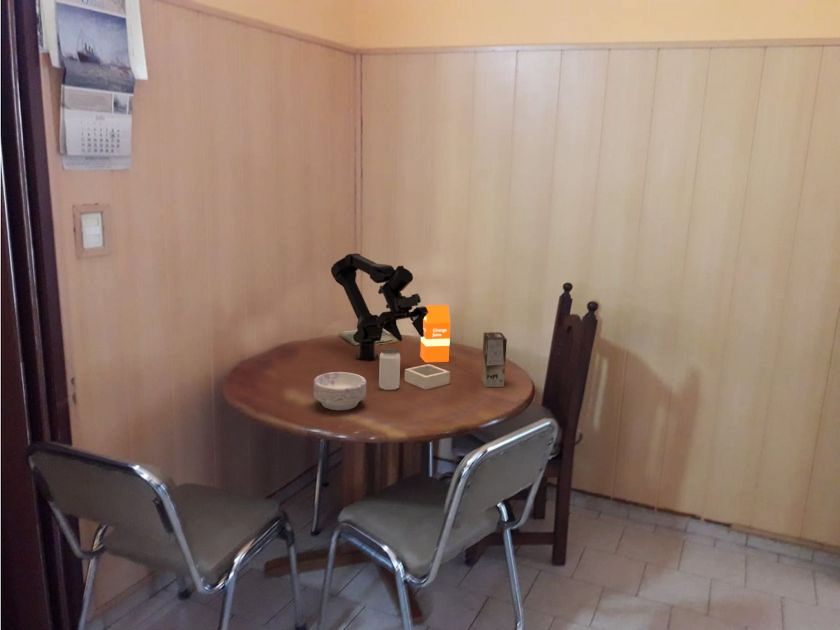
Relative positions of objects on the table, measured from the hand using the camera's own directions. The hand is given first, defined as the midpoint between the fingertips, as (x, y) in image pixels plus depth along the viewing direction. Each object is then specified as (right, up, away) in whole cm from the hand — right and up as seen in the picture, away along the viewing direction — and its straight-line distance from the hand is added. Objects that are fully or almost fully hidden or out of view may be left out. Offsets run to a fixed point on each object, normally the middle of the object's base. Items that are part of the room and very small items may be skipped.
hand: (412, 338), depth 227 cm
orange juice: (+8, -8, +24) cm, 26 cm away
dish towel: (-18, -3, +47) cm, 50 cm away
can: (-7, -15, -9) cm, 19 cm away
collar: (+5, -14, -3) cm, 15 cm away
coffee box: (+26, -15, -1) cm, 30 cm away
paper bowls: (-21, -19, -26) cm, 38 cm away
